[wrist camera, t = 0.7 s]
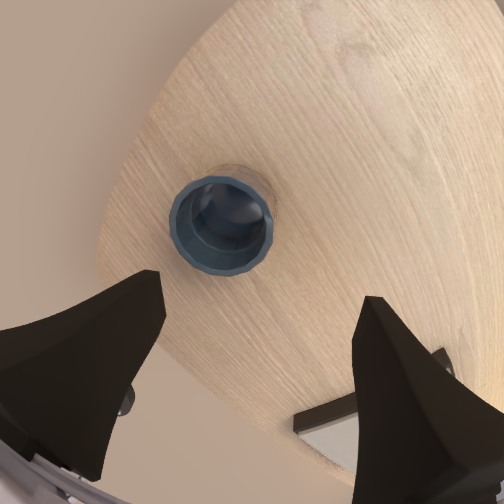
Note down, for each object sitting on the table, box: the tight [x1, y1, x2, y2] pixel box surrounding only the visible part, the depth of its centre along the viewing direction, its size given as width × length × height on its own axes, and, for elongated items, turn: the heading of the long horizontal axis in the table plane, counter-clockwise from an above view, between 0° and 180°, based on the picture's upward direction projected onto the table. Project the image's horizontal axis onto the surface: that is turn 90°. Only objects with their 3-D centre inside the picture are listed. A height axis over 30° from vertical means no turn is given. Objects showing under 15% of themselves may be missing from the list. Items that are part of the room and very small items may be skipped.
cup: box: [169, 164, 277, 277], centre depth 17 cm, size 6×6×4 cm
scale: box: [293, 348, 455, 476], centre depth 26 cm, size 17×17×3 cm
